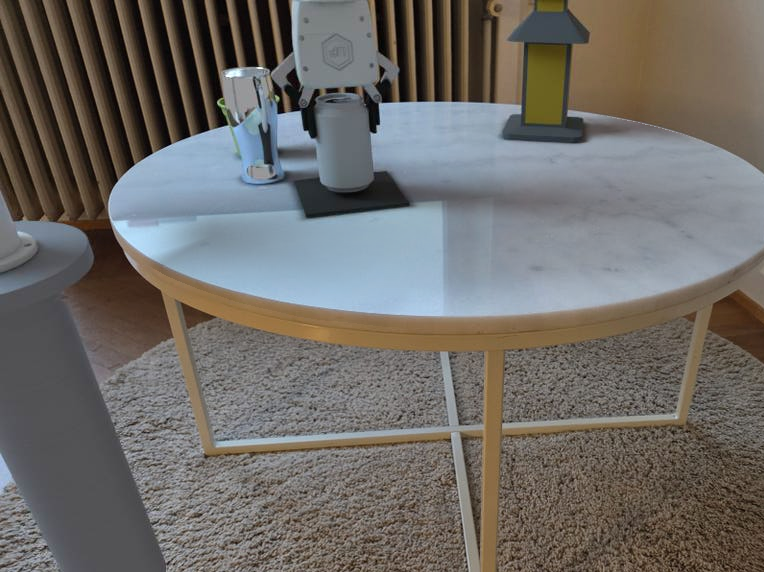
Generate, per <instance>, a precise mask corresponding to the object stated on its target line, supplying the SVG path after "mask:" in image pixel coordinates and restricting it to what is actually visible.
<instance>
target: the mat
mask: <svg viewBox="0 0 764 572" xmlns="http://www.w3.org/2000/svg"><path fill="white" fill-rule="evenodd" d="M373 173H374V180H373V181H372V182H371V183H370V184H369V186H368V187H367V188H365V189H363V190H360V191H356V192H335V191H331V190H329V189H328V188H327V187H326V186H325V185H323V184H322V183H321V182H320V177H312V178H302V179H294V180H293V185H294V187H295V190H296V193H297V196H298V199H299V201H300V204H301V207H302V210H303V213H304V215H305V218H316V217H323V216H334V215H341V214H349V213H359V212H366V211H368V212H369V211H376V210H383V209H393V208H401V207H409V206H410V202H409V200H408V199H407V197H406V196H405V195H404V193H403V192H402V191H401V189H400V187H399V186H398V185H397V183H396V182H395V181H394V179H393V178H392V176H391V175H390V174H389V172H388V171H387V170H381V171H380V170H379V171H373Z"/></svg>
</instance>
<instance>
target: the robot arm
mask: <svg viewBox="0 0 764 572" xmlns="http://www.w3.org/2000/svg"><path fill="white" fill-rule="evenodd" d="M291 1H292V2H291V40H292V52H291V53H290V54H289V55H288V56H287V57H286V58H284V59H283V61H281V62H280V63H279V64H278V65H277V66H276V67H275V68H274V69H273V70H272V71H270V75H271V80H272V81H274V83H275V84H276V85H277V86H278V87H279V88H280V89H281V90H282V91H283V92H284V93H285V94H286V95H287V96H288V97H289V98H290V99H291V100H292V101H294V102H295V103H296V104H297V105H299V109H300V118H301V125H302V130H303V132H308V133H307V134H308V135H309V137H310V139H311V140H315V137H316V129H315V120H314V112H313V108H314V107H313V106H312V104H311V100H312V97H313V94H314V92H315V90H316V89H317V90H320V89H321V90H322V89H337V88H353V87H362V88H363V89H364V91H365V92H366V94H367V95H366V99H365V100H364V102H365V103H364V104H365V106H366V107H367V108H368V109H369V122H370V134H377V133H378V128H377V126H381V115H380V105H379V104H380V102H381V101H382V98H383V97H384V96H385V94H386V93H387V92H388V91H389V90H390V88H391V87H392V84H393V83H394V81H395V79H396V78H397V77H398V74H399V73H400V67H399V66H398V65H397V64H395V63H394V62H393V61H391V60H390V59H389V58H388V57H386V56H384V55H383V54H382V53H380V52H379V51H378V50H377V49H376V40H375V39H376V38H375V33H374V26H373V21H372V16H371V11H370V7H369V2H368V0H291ZM378 66H381V67H382V68H383V69H384V72H383V75H382V76H381V78H380V79H379V80H378V78H379V67H378ZM293 70H295V74H296V76H297V78H298V82H299V83H300V84H301V85H300V87H299V90H298V89H297V88H296V87H295V86H294V85H293V84H291V82H290V81H288V79H287V75H288V74H290V72H291V71H293ZM377 80H378V81H377ZM375 82H376V84H375ZM1 190H2V189H0V273H3V272H6V271H8V270H11V269H13V268H16V267H18V266H20V265H22V264H24V263H25V262H27V261H28V260H30V259H31V258H32V257H33V256H34V255H35V254H36V252H37V251H38V245H37V243H36V240H35V238H34V237H33V236H31V235H29V234H27V233H23V232H18V231H17V230H16V228H15V225H14V223H13V222H14V220H13V218H12V216H11V213H10V211H9V209H8V205H7V203H6V201H5V198H4V196H3V193H2V191H1Z"/></svg>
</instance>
